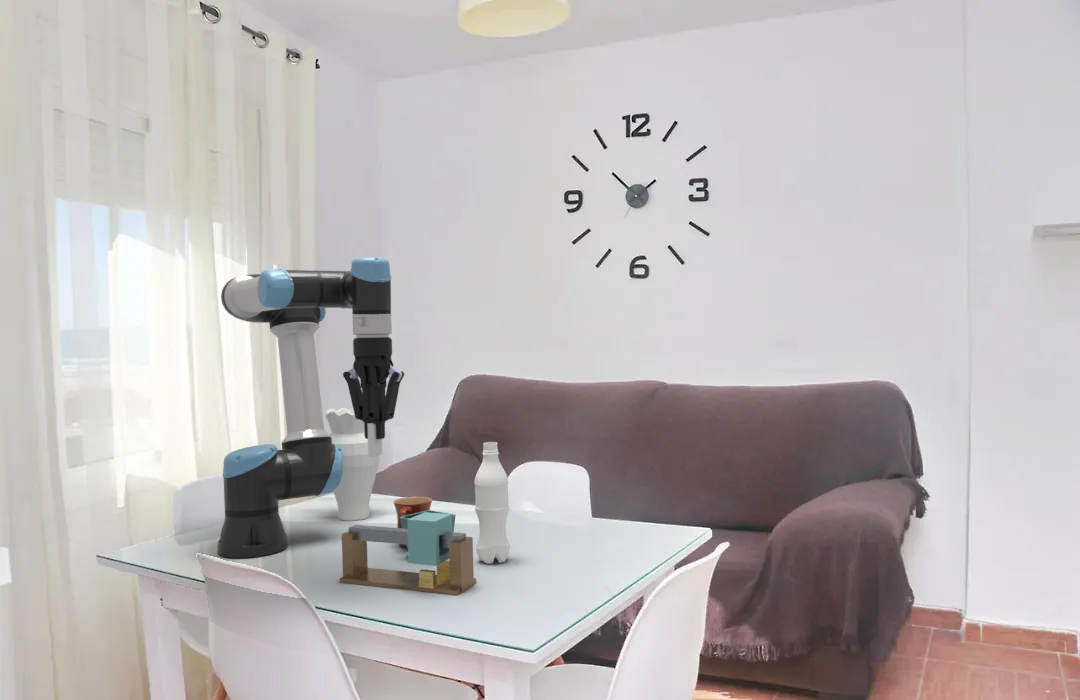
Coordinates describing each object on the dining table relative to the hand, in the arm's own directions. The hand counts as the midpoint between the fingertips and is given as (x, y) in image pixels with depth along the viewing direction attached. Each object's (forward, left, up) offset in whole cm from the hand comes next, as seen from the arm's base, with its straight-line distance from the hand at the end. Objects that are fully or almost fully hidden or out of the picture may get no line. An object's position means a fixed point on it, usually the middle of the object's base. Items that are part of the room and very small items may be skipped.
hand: (375, 455), depth 163 cm
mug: (-6, +23, -25) cm, 35 cm away
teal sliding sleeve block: (+12, -1, -16) cm, 21 cm away
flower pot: (+2, +17, -25) cm, 30 cm away
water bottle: (+17, +18, -25) cm, 35 cm away
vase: (-37, +45, -25) cm, 64 cm away
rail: (+7, -1, -25) cm, 25 cm away
